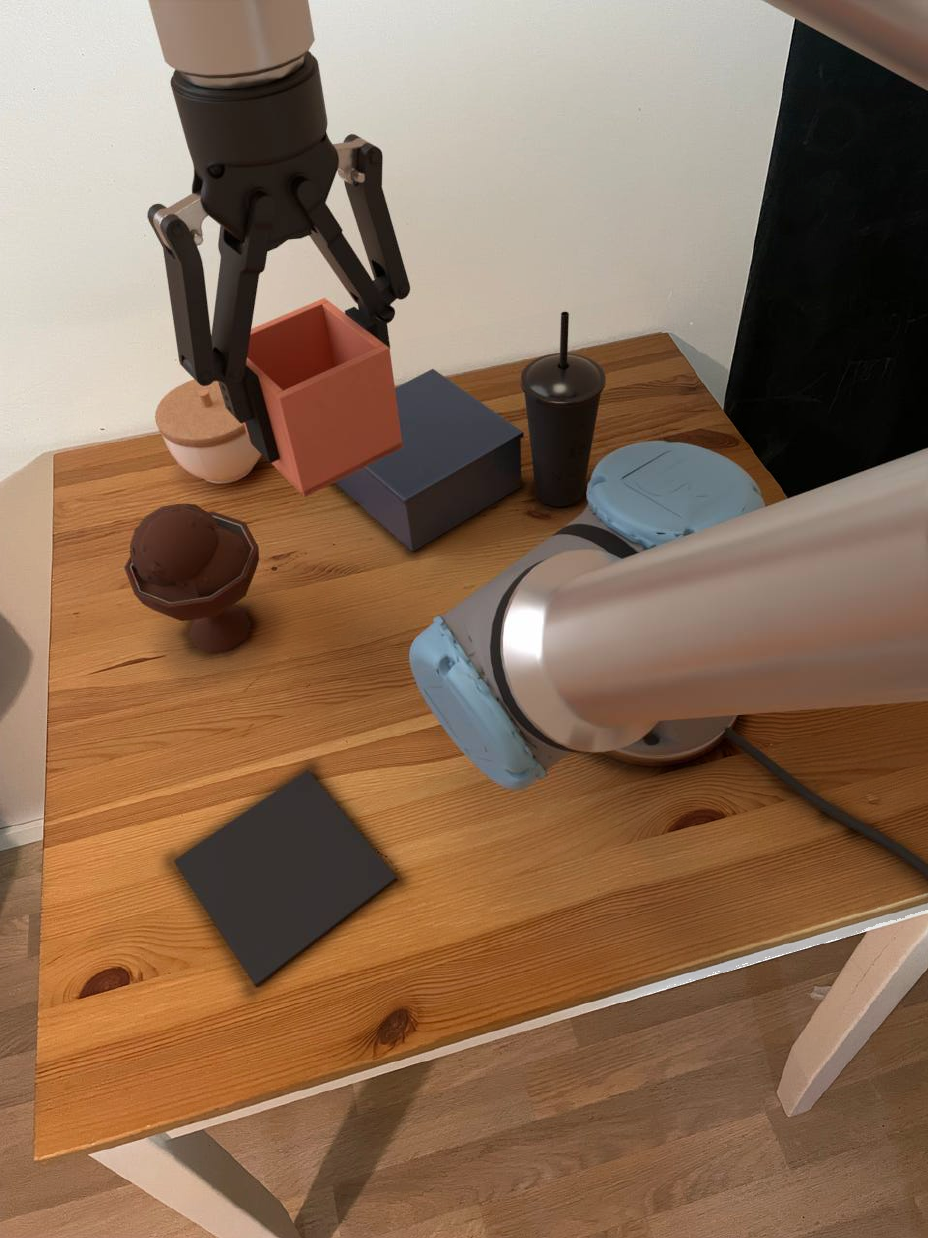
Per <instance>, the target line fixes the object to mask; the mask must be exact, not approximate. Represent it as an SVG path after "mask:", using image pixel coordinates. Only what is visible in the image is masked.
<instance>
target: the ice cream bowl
mask: <svg viewBox="0 0 928 1238" xmlns="http://www.w3.org/2000/svg"><path fill="white" fill-rule="evenodd" d="M129 548H130V549H129V554H130V556H129V558H128V560H127V561H126V563H125V565H124V567H123V568H124V571H125V573H126V576H127V579H128V581H129V584H130V586H131V590H132V592H133V594H134V596H135V597H136V598H137V599H138V600H139V601H140V603H141V604H142V605H144V606H145V607H147V608H148V609H151V610H152V611H154V612H157V613H160V614H162V615H164V616H167V617H170V618H172V619H175V620H177V621H180V622H186V621H193V622H192V624H191V627H190V629H189V636H190V638H191V640H192V643H193V645H194V647H195V648H197V649H199V650H202V651H204V652H207V653H210V654H214V653H220V652H227V651H231V650H232V649H234V648H235V647H237V646H238V645H239V644H241V643H242V642H243V641H244V640H246V639H247V636H248V633H249V631H250V629H251V626H252V624H251V623H252V622H251V621H250V619H249V617H248V615H247V613H246V611H244V609H243V608H240V607H238V606H235V604H236V603H238V602H239V601H240V600H242V599H244V598H245V597H246V596H247V593H248V592H249V588H250V586H251V584H252V581H253V578H254V576H255V574H256V571H257V567H258V565H259V562H260V549H259V545H258V543H257V542H256V540H255V538H254V535H253V534H252V532H251V530H250V528H249V526H248V524H247V522H246V521H242V520H240V519H237V518H234V517H231V516H229V515H228V516H227V515H225V514H222V513H219V512H216V511H207V510H205V509H204V508H201V507H200V506H199V505H197V504H195V503H175V504H174V503H173V504H169V505H163V506H162V505H161V506H160V507H159V508H157V509H156V510H154V511H152V512H150V513H149V514H147V515H146V516H145V517H144V518H143V519H142V520H141V521H140V523H139V524H138V526H136V528H135V529H134V530H133V535H132V537H131V540H130V545H129Z"/></svg>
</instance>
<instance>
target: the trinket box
mask: <svg viewBox="0 0 928 1238" xmlns="http://www.w3.org/2000/svg"><path fill="white" fill-rule="evenodd" d="M154 415H155V416H154V419H155V424H156V426H157V428H158V431H159V433H160V434H161V436H162V439H163V440H164V443H165V445H166V448H167V449H168V451H169V453H170V454H171V457H173V458H174V460H175V461H176V462H177V464H178V465H179V466H180V467H182V469H183V470H185V471H186V472H187V473H189V474H191V475H192V476H194V477H197V478H200V479H202V480H205V482H208V483H212V484H217V485H218V484H220V485H221V484H230V483H234V482H237V481H239V480H241V479H243V478H245V477H246V476H248V475H249V474H250V473H251V472H252V471H253V469H254V467H255V465H257V462H259V460H260V459H261V457H262V456H263V455H262V454H261V453H260V452H259V451H258V450H257V449H256V448H255V447H254V446H253V445H252V444H251V442H250V441H249V440H248V437H247V433H246V430H245V426H244V423H242V424H241V423H240V422H239V421H238V420H237V419H236V418H235V417H234V416H233V415H232V414H231V413H230V412H229V411H228V410H227V409H226V406H225V403H224V399H223V396H222V393H221V390H220V386H219V383H218V381H213V382H212V383H211V384H210V385H208V386H202V385H200V384H199V383H198V382H197V381H196V380H195V379H194V378H193V379H191V380H188V381H185V382H184V383H181V384H180V385H177V386H176V387H174V388H173V389H171V390H170V391H168V393H166V394H165V395H164V397H163V398H162V399H161V400H160V401H159V403H158V405H157V407H156V410H155V414H154Z"/></svg>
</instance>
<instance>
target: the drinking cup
mask: <svg viewBox="0 0 928 1238" xmlns="http://www.w3.org/2000/svg"><path fill="white" fill-rule="evenodd" d="M569 322H570V313H569V311H562V312H561V313H560V333H559V335H560V336H559V341H560V342H559V352H557V353H556V352H555V353H549V354H545V355H543V356H540V357H536V358H535V359H533V360H531V361H530V362H528V363H527V364H526V365H525V367H523V369H522V370H521V371H522V372H521V373H520V379H519V381H520V382H519V383H520V387H521V390H522V392H523V393H524V400H525V409H526V411H525V412H526V418H527V419H526V420H527V427H528V436H529V437H528V438H529V444H530V452H531V453H530V454H531V461H532V471H533V479H534V487H535V489H534V490H535V494H536V497H537V499H538V500H540V502H542V503H544V504H545V505H548V506H551V507H556V508H557V507H558V508H561V507H563V508H564V507H568V506H572V505H574V504H575V503H577V502H579V501H580V500H581V498H582V497H583V495H584V492H585V485H586V480H587V474H588V468H589V463H590V457H591V451H592V446H593V440H594V435H595V429H596V424H597V423H596V422H597V417H598V412H599V406H600V400H601V396H602V395H601V394H602V393H603V391H604V390H605V386H606V381H607V379H606V378H607V376H606V372H605V371H604V369H603V367H602V365H600V364H599V363H598V362H596V361H595V360H594V359H592V358H590V357H587V356H585V355H582V354H577V353H572V352H569V351H568V349H569V324H570V323H569Z"/></svg>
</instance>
